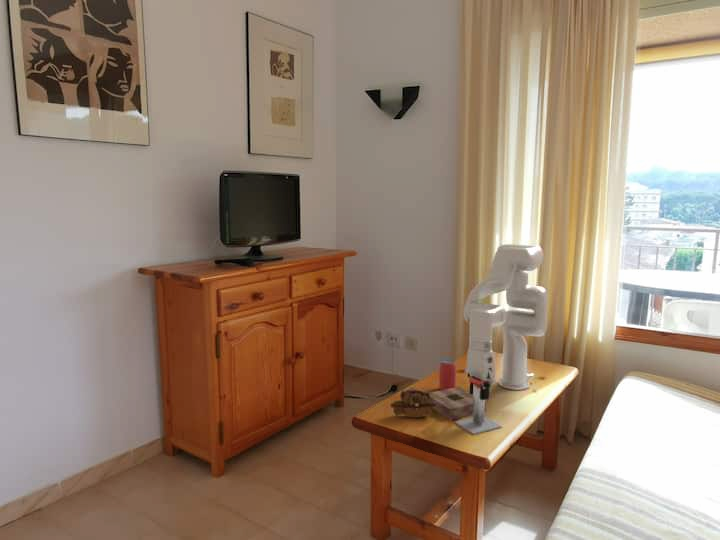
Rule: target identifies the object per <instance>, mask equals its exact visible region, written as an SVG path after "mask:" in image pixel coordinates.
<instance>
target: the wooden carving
mask: <svg viewBox="0 0 720 540" xmlns="http://www.w3.org/2000/svg"><path fill="white" fill-rule="evenodd" d="M429 393H430V392H429V391H428V390H423V389H420V388H414V387H413V388H409V389H406V390H401V393H400V398H401V400H400V399H399V400H397V399H396V400H394V401H391V402H390V407H391V408H392V410H393V413H394V415H395V416H400V415H404V416H406V417H409V418H413V419H414V418H421V417H424V416H427V415H429V414H431V413H433V409H432V408H431V407H430V406H436V405H437V404H436V402H430V401H429V399H430V395H429Z"/></svg>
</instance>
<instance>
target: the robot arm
mask: <svg viewBox="0 0 720 540" xmlns="http://www.w3.org/2000/svg"><path fill="white" fill-rule="evenodd" d="M496 249H497V250H496V252H495V254H494V256H493V260H492V262H491V267H490V269H489V271H488V272H489V273H488V276H487V278H485V279H484V280H481V282H479V283H478V284H477V285H475V286H474V287H473V288H472V289H471V290H470V292H469V294H468V295H467V299H466V301H465V305H464V307H463V318H464V320H465V321H466V323H469V339H468V340H469V343H468V349H467V354H466V355H467V356H466V367H465V369H464V370H465V373H466V375H467V377H468V378H469V377H470V376H472V377H473V376H474V377H476V378H478V379H480V380H481V381H482V382H483V385H482V388H481V392H480V399H481V400H485V401H487V400H488V399H489V398H490V389H491V387H492V386H493V385H495V384H496V360H495V352H494V350H493V331H494V330H493V328H498V327H501V326H502V327H501V328H502V333H503V334H502V335H503V338H502V339H503V341H502V342H503V345H502V346H503V349H502V350H503V351H502V369H501V370H502V373H501V374H502V375H501V378H499V379H498V381H497V384H498V385H499V386H500V387H502V388H505V389H507V390H508V389H509V390H514V391H522V390H527V389H529V388H530V386H531V385H530V381H529V380H530V379H534V378H535V377H536V376H535V374H534V373H533V372H532V373H527V367H528V366H527V365H528V363H527V362H528V361H527V359H528V342H527V340H526V339H525V336H531V337H543V336H544V335H545V334H546V332H547V327H548V307H549V306H548V305H549V304H548V298H549V297H548V292H547V290H546V289H545V288H544V287H543V286H537V285H531V284H529V272H532V271H534V270H536V269H538V268H539V267H540V266H541V265H542V263H543V261H544V251H543V249H542V247H540V246H539V245H527V244H512V243H511V244H502V245H500V246H498V248H496ZM504 291H505V292H506V293H505V301H506V304H507V305H508V306H509V307H511V308H516V310H515V309H512V310H511V309H510V310H507V311H506V309H505V308H504V307H503V306H502V305H501V304H500V305H499V304H492V303H484V302H480V301H481V300H482V299H484V298H486V297H489V296H492V295H495V294H498V293H501V292H504ZM517 309H519V310H517ZM520 309H523V310H520ZM526 310H530V311H526ZM531 310H532V311H531ZM523 335H524V336H523ZM485 381H488V383H486V384H485ZM469 392H470V394H471V395H472V394H473V384H472V383H470V382H469Z"/></svg>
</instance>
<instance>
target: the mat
mask: <svg viewBox="0 0 720 540" xmlns="http://www.w3.org/2000/svg"><path fill="white" fill-rule="evenodd" d="M454 423H455V425H457V426H459V427H460V428H462V429H463V430H465V431H467V432H468V433H470V434H471V435H473V436H475V435H479V434H483V433H486V432H491V431H494V429H495V430H498V428H499V429H502V428H503V427H502V425H501V424H499V423H497V422H496V421H494V420H492V419H490V418H489V417H487V416H484V422H483V423H475V422H473V421H472V417H469V418H465V419H464V418H463V419H460V420H456V421H454ZM501 427H502V428H501Z"/></svg>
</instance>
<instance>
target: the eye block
mask: <svg viewBox="0 0 720 540" xmlns="http://www.w3.org/2000/svg"><path fill="white" fill-rule="evenodd" d="M428 393H429V395H430V399H429V401H430V402H436V404H437V405H436V406H430V408H431V409H432V410H434V411H435V412H437V413H439V414H440V415H442V416H444V418H447V419H448V420H449V421H451V420H456V419H460V418H465V417H468V416H473V394H472V395H471V394H470V391H468V390H466V389H464V388H463V387H461V386H457V387H456V388H451V389H446V390H437V391H431V392H428ZM485 412H487V400H485Z"/></svg>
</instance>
